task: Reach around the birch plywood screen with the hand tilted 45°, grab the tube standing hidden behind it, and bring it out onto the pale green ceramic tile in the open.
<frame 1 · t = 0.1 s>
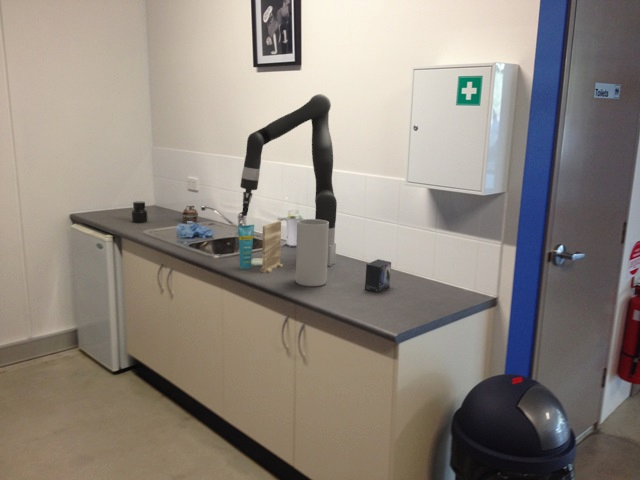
hand: (244, 213, 255), 22 cm above the worktop, tool pointing down, fingers open, 8 cm apart
cylinder vase: (311, 283, 233), on the worktop
screen: (271, 268, 251), on the worktop
ink bottle: (139, 222, 346), on the worktop
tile: (258, 262, 261), on the worktop
tube: (245, 268, 251), on the worktop
small box: (377, 288, 229), on the worktop
rusty gas canister: (190, 222, 350), on the worktop
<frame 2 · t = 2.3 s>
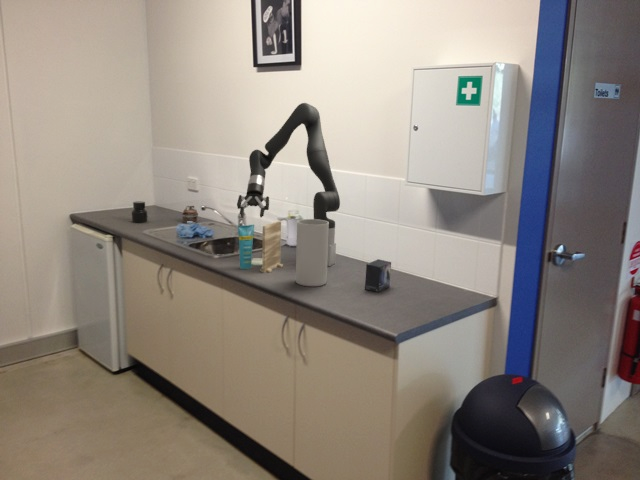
hand: (251, 216, 257), 21 cm above the worktop, tool tilted 45°, fingers open, 8 cm apart
nothing on the worktop moved.
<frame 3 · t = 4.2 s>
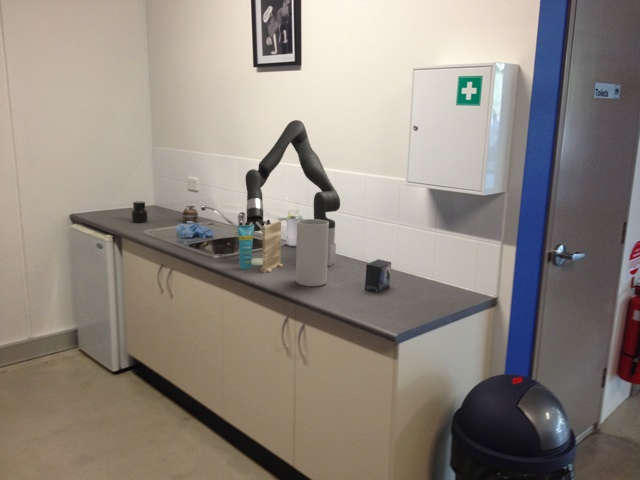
hand: (255, 243, 254), 10 cm above the worktop, tool tilted 40°, fingers open, 8 cm apart
nothing on the worktop moved.
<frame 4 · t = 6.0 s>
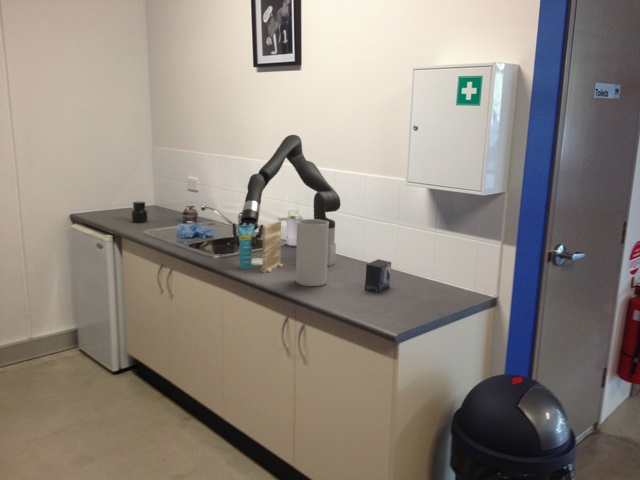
hand: (245, 245, 247), 11 cm above the worktop, tool tilted 45°, fingers closed on tube, 5 cm apart
tube: (245, 268, 251), on the worktop, touching gripper
everything else where it was.
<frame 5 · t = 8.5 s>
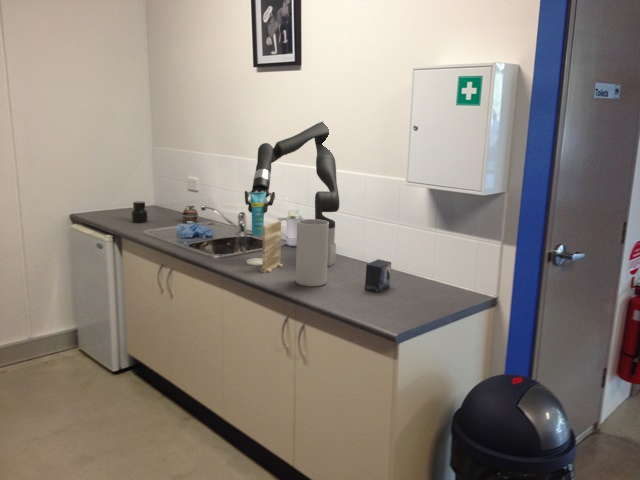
hand: (257, 211, 252), 24 cm above the worktop, tool tilted 45°, fingers closed on tube, 5 cm apart
tube: (257, 235, 257), point 13 cm above the worktop, touching gripper
everything else where it was.
when the fingers open (13 cm above the worktop, at t = 11.3 s): tube drops 1 cm, resting on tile.
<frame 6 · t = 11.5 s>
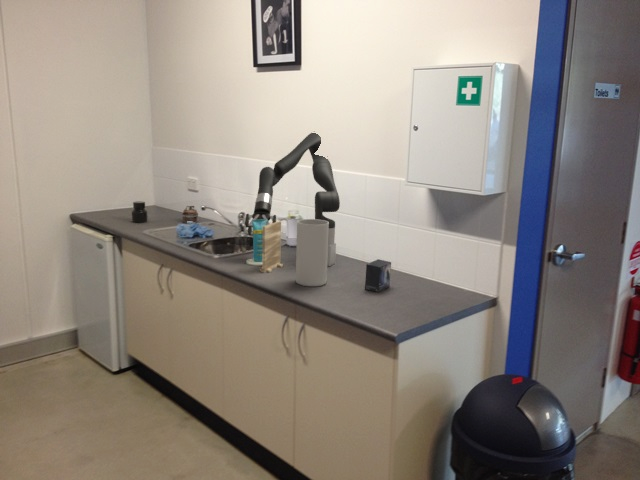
hand: (258, 234, 256), 13 cm above the worktop, tool tilted 45°, fingers open, 7 cm apart
tube: (259, 261, 261), point 1 cm above the worktop, touching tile
everything else where it was.
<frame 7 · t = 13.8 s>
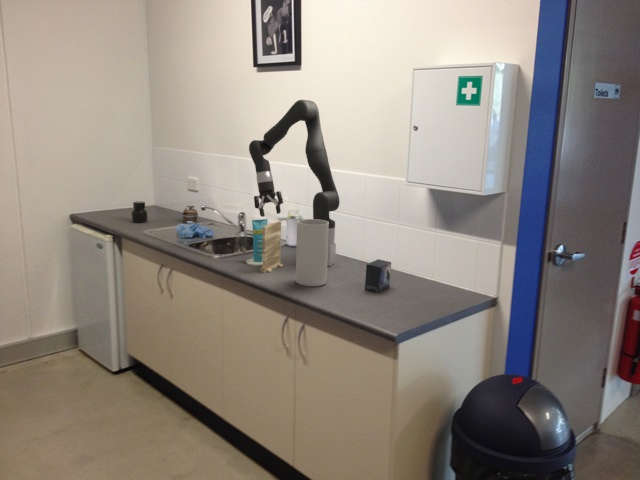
hand: (270, 215, 275), 19 cm above the worktop, tool tilted 15°, fingers open, 8 cm apart
nothing on the worktop moved.
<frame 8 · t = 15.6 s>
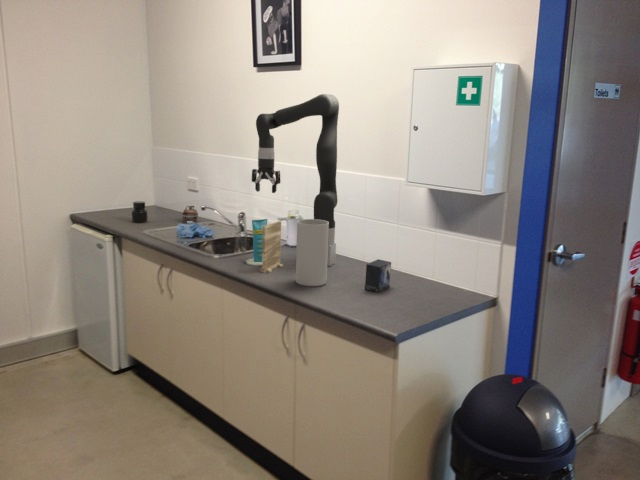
hand: (265, 192, 271), 30 cm above the worktop, tool pointing down, fingers open, 8 cm apart
nothing on the worktop moved.
at the end: tube inside the target area on the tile (0.3 cm from its centre), point 0.6 cm above the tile's base; tube tilted 0°; the gripper is holding nothing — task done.
